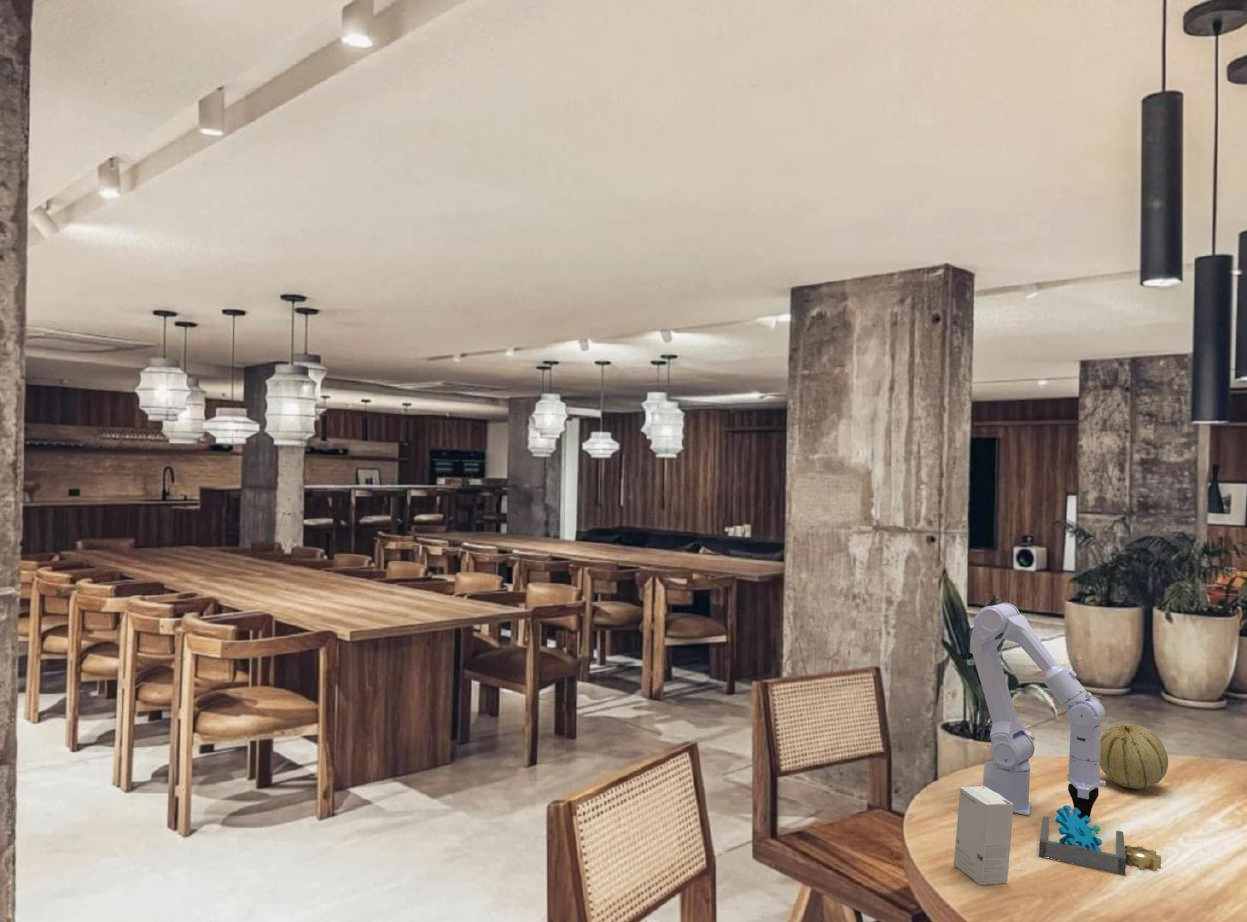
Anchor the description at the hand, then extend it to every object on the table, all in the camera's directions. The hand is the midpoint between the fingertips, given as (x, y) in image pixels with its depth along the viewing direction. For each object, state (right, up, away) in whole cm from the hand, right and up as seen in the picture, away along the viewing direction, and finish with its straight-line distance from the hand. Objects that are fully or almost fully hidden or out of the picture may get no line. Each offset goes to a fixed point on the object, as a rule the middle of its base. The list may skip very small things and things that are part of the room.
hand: (1082, 822), depth 185 cm
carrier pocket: (-4, -1, -13) cm, 14 cm away
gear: (-6, -1, -11) cm, 12 cm away
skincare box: (-30, 0, -24) cm, 38 cm away
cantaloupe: (+25, -2, +26) cm, 36 cm away
